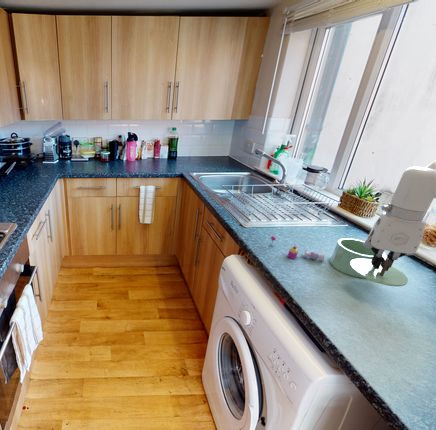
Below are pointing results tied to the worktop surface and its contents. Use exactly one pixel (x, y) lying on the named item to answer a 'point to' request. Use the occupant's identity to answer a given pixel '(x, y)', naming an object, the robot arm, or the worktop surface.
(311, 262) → the worktop surface
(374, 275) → the lid
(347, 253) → the canister
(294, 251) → the candies
